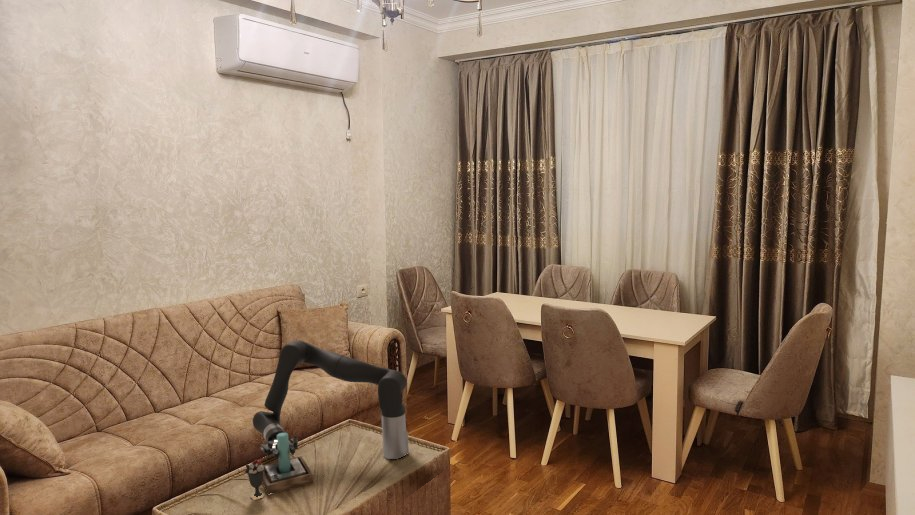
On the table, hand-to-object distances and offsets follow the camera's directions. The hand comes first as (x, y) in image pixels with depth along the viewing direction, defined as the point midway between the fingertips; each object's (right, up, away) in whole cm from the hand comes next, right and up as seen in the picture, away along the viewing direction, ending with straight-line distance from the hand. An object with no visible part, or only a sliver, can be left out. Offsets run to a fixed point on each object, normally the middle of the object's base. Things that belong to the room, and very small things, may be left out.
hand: (285, 454), depth 226 cm
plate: (-1, -10, +4) cm, 11 cm away
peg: (-1, -9, +4) cm, 10 cm away
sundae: (-8, -13, -7) cm, 16 cm away
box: (-1, -10, +4) cm, 11 cm away
